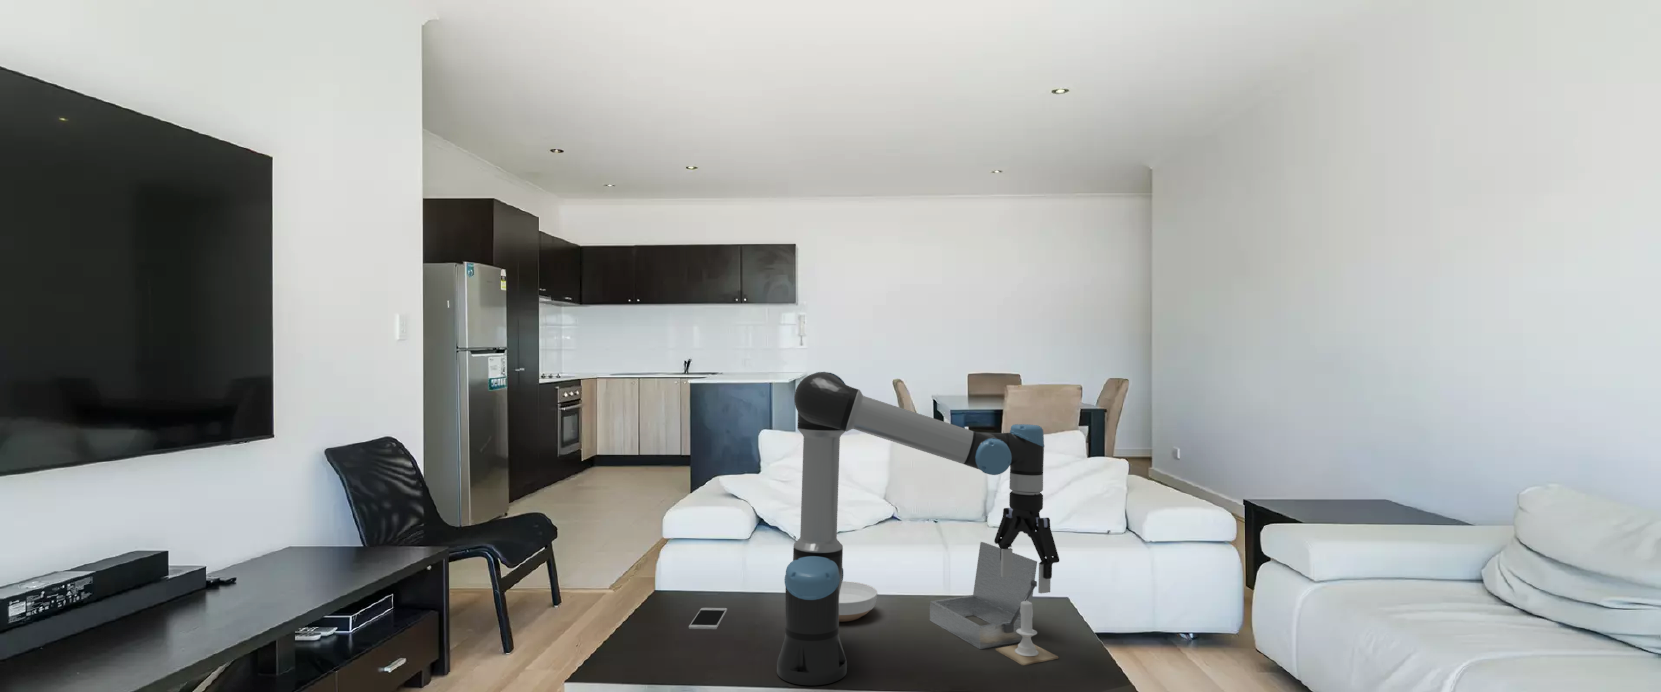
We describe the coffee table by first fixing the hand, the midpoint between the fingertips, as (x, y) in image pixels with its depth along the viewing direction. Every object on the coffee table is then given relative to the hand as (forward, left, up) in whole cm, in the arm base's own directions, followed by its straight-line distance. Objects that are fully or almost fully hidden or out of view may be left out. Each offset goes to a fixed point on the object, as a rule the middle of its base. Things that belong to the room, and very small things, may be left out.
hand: (1024, 584), depth 179 cm
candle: (0, 0, -16) cm, 16 cm away
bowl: (-27, +43, -16) cm, 53 cm away
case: (+1, +17, -16) cm, 24 cm away
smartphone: (-60, +54, -17) cm, 82 cm away
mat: (0, 0, -16) cm, 16 cm away
